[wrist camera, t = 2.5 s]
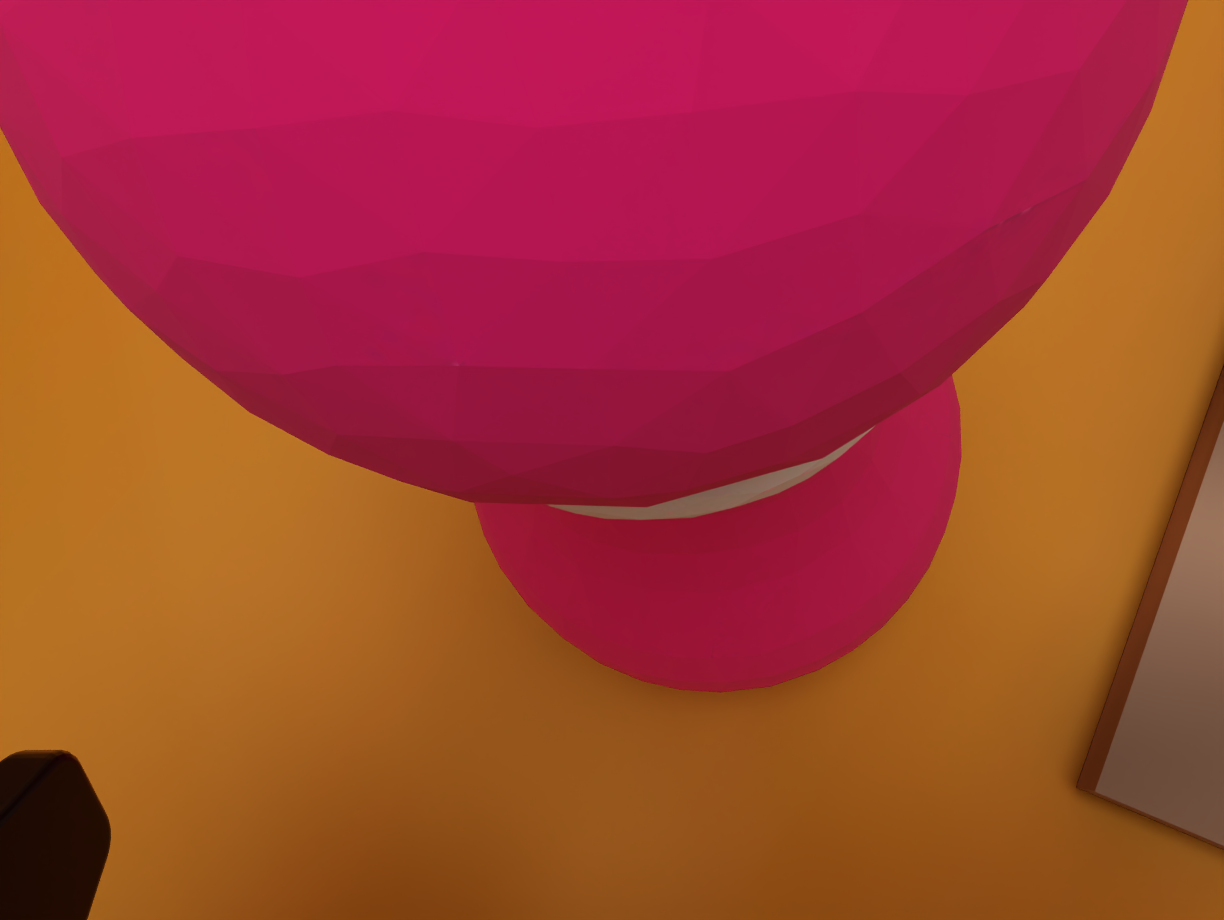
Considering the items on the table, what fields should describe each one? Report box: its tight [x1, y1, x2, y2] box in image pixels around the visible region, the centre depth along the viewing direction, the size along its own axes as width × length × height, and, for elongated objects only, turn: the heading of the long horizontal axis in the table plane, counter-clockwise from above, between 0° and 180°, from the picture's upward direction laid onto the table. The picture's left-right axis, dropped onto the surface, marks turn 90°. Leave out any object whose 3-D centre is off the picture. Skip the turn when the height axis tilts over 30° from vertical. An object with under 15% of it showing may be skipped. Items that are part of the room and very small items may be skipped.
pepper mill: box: [0, 0, 1188, 692], centre depth 12 cm, size 7×7×20 cm
